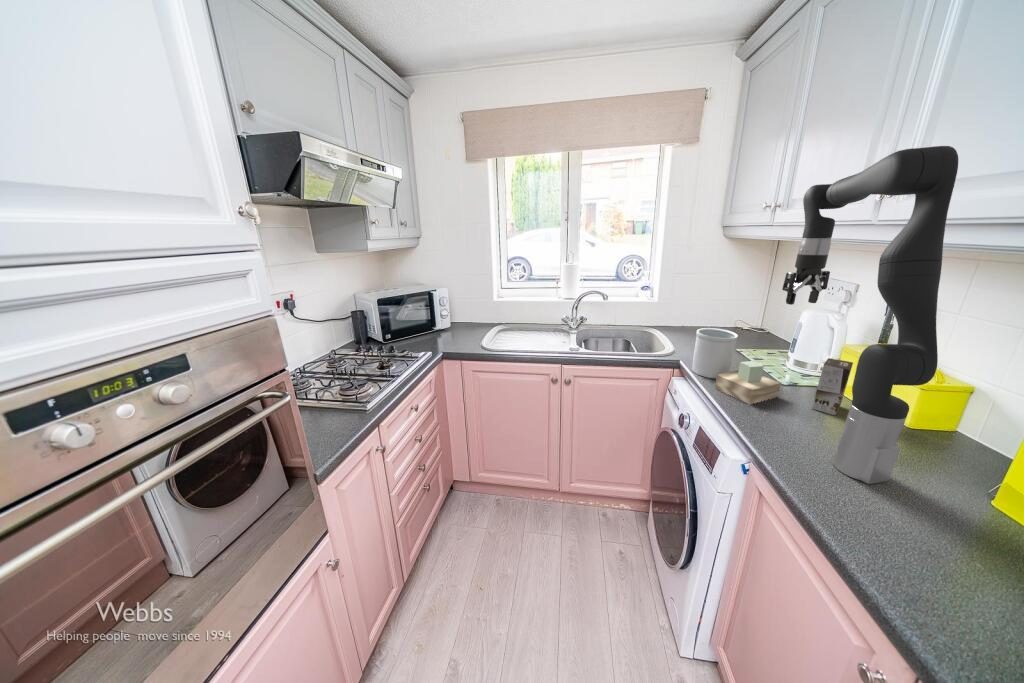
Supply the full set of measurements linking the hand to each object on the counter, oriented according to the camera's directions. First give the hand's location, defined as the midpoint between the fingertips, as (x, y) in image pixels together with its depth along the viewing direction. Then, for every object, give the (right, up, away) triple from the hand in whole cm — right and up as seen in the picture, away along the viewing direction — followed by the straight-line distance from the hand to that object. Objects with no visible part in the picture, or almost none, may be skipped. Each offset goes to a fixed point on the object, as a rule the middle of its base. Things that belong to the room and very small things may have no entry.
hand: (801, 303), depth 115 cm
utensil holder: (-11, -26, +33) cm, 43 cm away
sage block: (-9, -26, +12) cm, 30 cm away
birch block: (-9, -32, +14) cm, 36 cm away
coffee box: (+10, -35, +2) cm, 37 cm away
